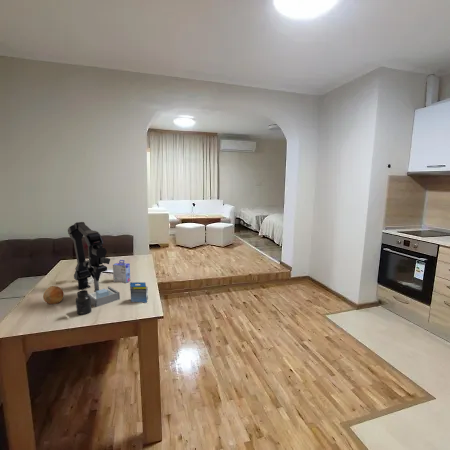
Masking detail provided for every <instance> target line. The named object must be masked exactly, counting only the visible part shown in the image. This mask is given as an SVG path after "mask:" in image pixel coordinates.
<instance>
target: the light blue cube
mask: <svg viewBox="0 0 450 450" xmlns="http://www.w3.org/2000/svg"><path fill="white" fill-rule="evenodd" d="M106 289H107V288H102V289H99V290H98V291H96V299H98V298H101V297H104V296H108V295H109V292H108V290H106Z"/></svg>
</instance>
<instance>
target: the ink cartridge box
mask: <svg viewBox="0 0 450 450" xmlns="http://www.w3.org/2000/svg"><path fill="white" fill-rule="evenodd" d="M130 264H131V263H127V262H126V261H125V259H119V261H118V262H116V263H114V264H112V275H113V276H112V277H113V278H112V279H113V283H116V282H121V283H123V284H127V283H130V282H131V265H130Z"/></svg>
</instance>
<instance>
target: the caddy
mask: <svg viewBox="0 0 450 450" xmlns="http://www.w3.org/2000/svg"><path fill="white" fill-rule="evenodd" d="M99 281H100V280H99ZM99 281H96V279H95V277H94V279H93V286H94V287H93V288H94V290H93V292H90V293H89V294H90V295H91V296H92V297H94V298H95V299H96V291H98V290H100V284H99V283H100V282H99ZM105 289H106V290H108V292H109V295H111V294H114V292H112V291H111V290H109V289H108V288H105Z"/></svg>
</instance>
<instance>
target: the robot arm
mask: <svg viewBox="0 0 450 450" xmlns="http://www.w3.org/2000/svg"><path fill="white" fill-rule="evenodd" d="M67 233H68V236H69V238H70V240H72V242H73V245H74V250H75V251H74V252H75V256H76V263H77V264H76V266H75V271H74V274H73V278H74V280H76V281H77V286H76V288H77V289H78V290H79V291H82V290H84V289H85V290H86V289H88V288H91V285H89V278H92V279H93V280H94V277H95V279H96V281H100V278H101V273H104V272H107V271H108V266H106V265H110V262H111V258H109V257H106V256H107V254H108V253H107V249H106V248H105V247H103V245H104V239H103V238H102V235H101V234H100V232H98V231H97V230H92V229H91V228H90V227H89V226H88V225H87V224H86V223H85V222H84V221H79V222H78V221H77V222H75V223H74V224H71V225H70V226H69V227H68V229H67ZM83 238H84V241H85V243H86V246H87V250H88V251H87V252H88V255H87V258H88V260H86V257H85V250H84V244H83ZM105 264H106V265H105Z"/></svg>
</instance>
